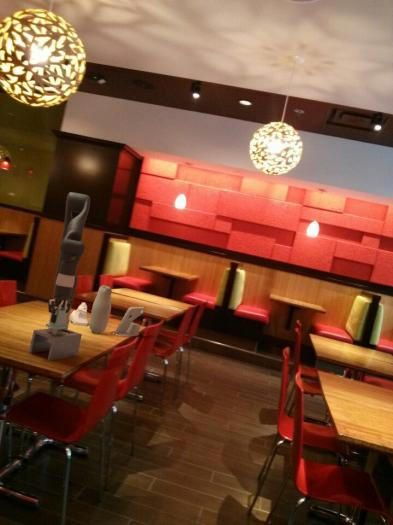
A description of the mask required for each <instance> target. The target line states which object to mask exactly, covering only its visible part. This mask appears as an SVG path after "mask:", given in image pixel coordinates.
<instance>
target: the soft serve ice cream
mask: <svg viewBox="0 0 393 525" xmlns="http://www.w3.org/2000/svg"><path fill="white" fill-rule="evenodd" d="M87 310H88V306H87V303H86V302H81V304H80V305H78V308H77V309H76V310H75V309H74V310H73V311H72V312H71V313H70V315H69V319H70V320H71V322H72V324H73V325H76V326H84V327H88V326H87V325H89V322H90V319H89V318H88V311H87Z"/></svg>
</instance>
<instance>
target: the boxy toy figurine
mask: <svg viewBox="0 0 393 525" xmlns="http://www.w3.org/2000/svg"><path fill="white" fill-rule="evenodd" d="M55 311H56V309H55ZM65 311H66V310H62V309H60V310H58V313H57V318H56V322H55V323H52V322H51V318H50V317H49V320H50V323H49V322H48V323H45V327H47V328H48V327H50V328H53V331H52V334H56V333H57V329H65V327H66V326H63V321H64V316H65ZM50 316H52V314H51V313H50ZM47 341H48V342H52V340H51V339H49V338H48V340H47Z"/></svg>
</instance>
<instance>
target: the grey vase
mask: <svg viewBox="0 0 393 525" xmlns="http://www.w3.org/2000/svg"><path fill="white" fill-rule="evenodd" d="M91 308H92V309H91V311H90V312H91V314H90V316H89V317H90V318H89V323H88V326H89V329H90V331H91V332H92V333H94V334H102V333H104V332H106V330H107V327H108V325H109V324H108V323H109V321H110V320H109V319H110V314H111V310H112V288H111V287H110V286H109V285H105V284H103V285H100V287H99V289H98V291H97V295H96V297H95V299H94V302H93V303H92V307H91Z"/></svg>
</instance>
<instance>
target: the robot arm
mask: <svg viewBox="0 0 393 525" xmlns="http://www.w3.org/2000/svg"><path fill="white" fill-rule="evenodd" d="M90 205H91V197H90V196H89V195H88V194H83V193H79V192H72V191H71V192H68V194H67V196H66V201H65V213H64V225H63V228H62V229H63V231H62V235H61V241H60V245H59V256H58V257H59V258H58V265H57V268H56V271H55V272H56V273H55V278H54V282H53V283H54V284H53V286H54V290H53V294H54V297H53V299H48V302H47V304H48V305H47V306H48V307H47V308H48V313H50V317H49V321H48V323H50V318H51V322H52V323H55V322H56V318H57V313H58V310H60V309H62V310H66V311H65V316H64V321H63V326H66V327H65V329H68V330H69V325H70V315H71V310H72V306H73V302H74V297H75V296H74V295H75V293H76V288H77V286H78V281H79V279H78V275H76V273H77V269H78V265H79V262H80V261H81V259H82V257H83V255H84V253H85V251H86V245H85V243H84V242H82V239H83V235H84V229H85V227H84V226H85V224H86V221H87V217H88V214H89V211H90ZM73 212H74V213H77V216H75V217H74V218H73ZM78 213H79V214H78ZM55 309H56V311H55ZM51 314H52V316H51ZM47 329H50V327H47ZM63 333H64V334H68V333H65V332H63Z"/></svg>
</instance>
